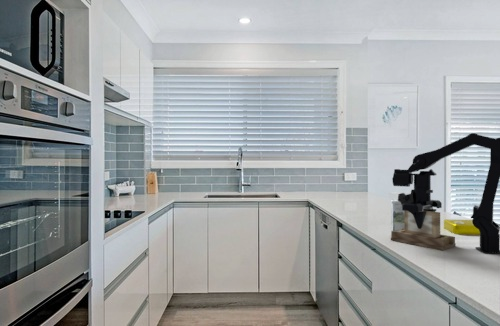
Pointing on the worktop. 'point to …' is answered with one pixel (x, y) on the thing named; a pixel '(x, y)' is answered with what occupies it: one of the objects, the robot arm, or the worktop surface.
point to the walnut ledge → (424, 240)
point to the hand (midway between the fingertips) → (422, 227)
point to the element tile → (461, 227)
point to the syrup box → (397, 216)
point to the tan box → (429, 225)
